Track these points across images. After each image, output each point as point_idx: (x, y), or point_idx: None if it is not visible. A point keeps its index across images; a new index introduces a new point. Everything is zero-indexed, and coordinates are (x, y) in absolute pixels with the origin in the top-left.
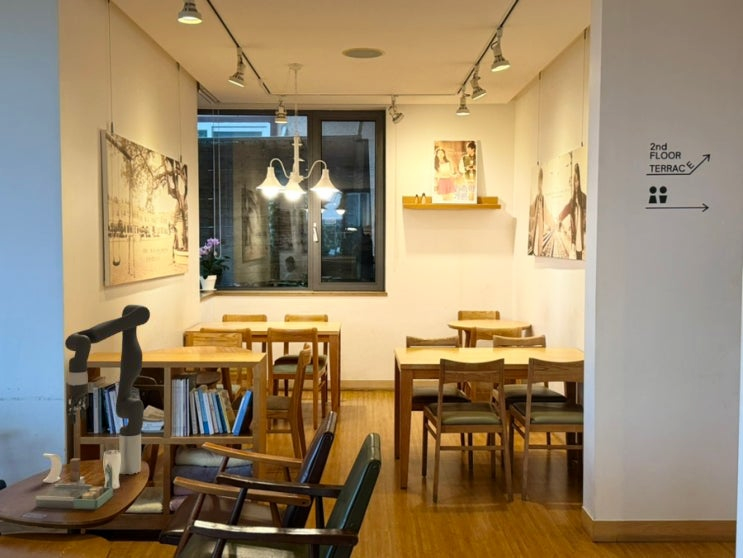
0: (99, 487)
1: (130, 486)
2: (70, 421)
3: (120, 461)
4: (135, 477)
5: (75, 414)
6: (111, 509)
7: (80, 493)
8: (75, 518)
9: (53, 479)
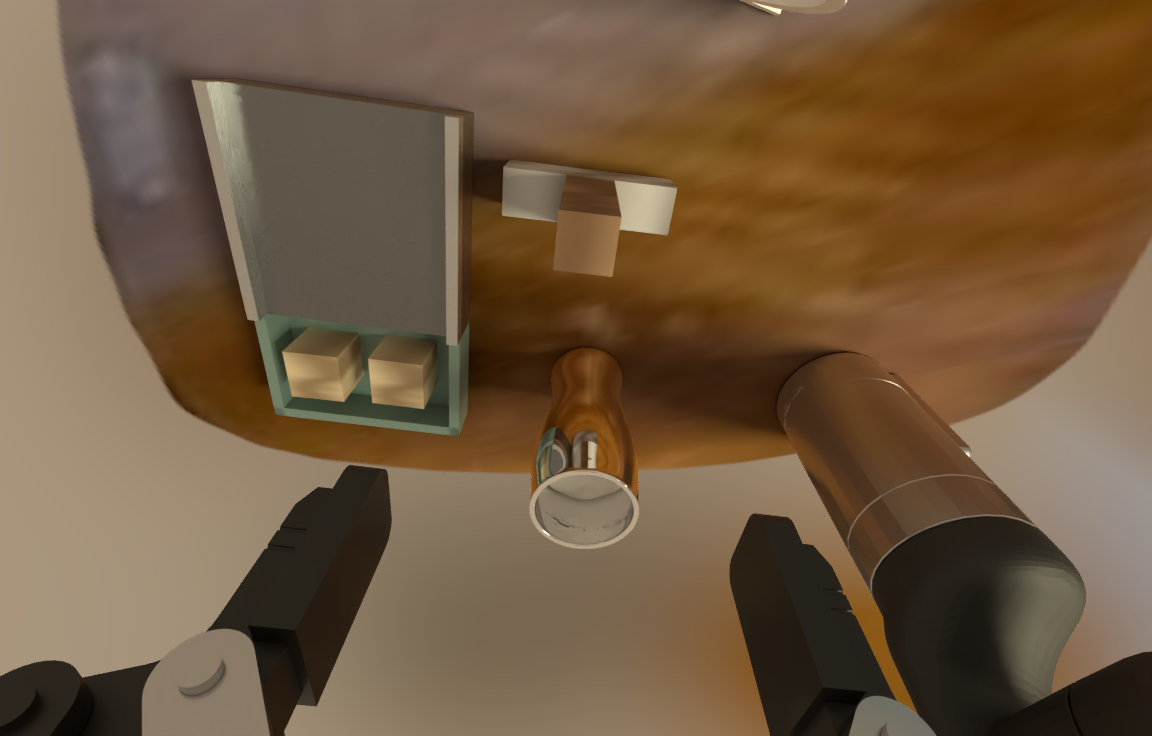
0: (412, 396)
1: None
2: (299, 510)
3: (581, 504)
4: (729, 437)
5: (311, 701)
6: (315, 440)
7: (367, 309)
8: (177, 341)
9: None
